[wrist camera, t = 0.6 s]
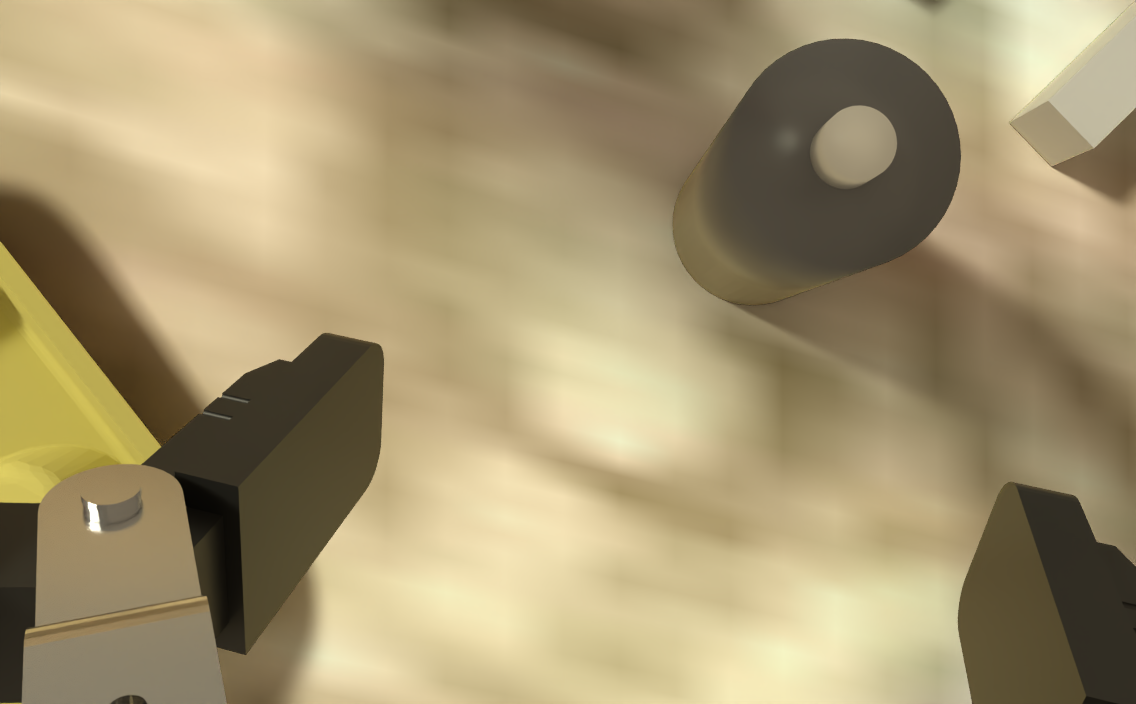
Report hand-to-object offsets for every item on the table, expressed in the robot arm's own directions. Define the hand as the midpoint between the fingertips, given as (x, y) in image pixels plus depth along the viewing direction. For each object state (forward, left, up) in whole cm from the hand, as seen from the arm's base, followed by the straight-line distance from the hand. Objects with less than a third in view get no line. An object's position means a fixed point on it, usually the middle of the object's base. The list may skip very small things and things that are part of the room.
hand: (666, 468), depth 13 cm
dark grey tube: (-1, +8, -19) cm, 21 cm away
